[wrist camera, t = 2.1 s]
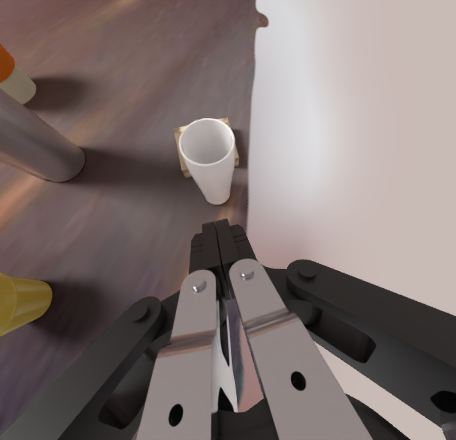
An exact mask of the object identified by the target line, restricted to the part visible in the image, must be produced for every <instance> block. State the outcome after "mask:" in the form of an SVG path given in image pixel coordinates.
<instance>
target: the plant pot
mask: <svg viewBox="0 0 456 440" xmlns="http://www.w3.org/2000/svg"><path fill="white" fill-rule="evenodd" d="M51 300H52V290H51V288H50V286H49V285H48V284H47V283H45V282H43V281H39V280H29V279H21V278H13V277H8V276H7V275H5V274H2V273H0V336H2V335H4V334H6V333H8V332H10V331H12V330H15V329H17V328H19V327H21V326H23V325H25V324H27V323H29V322H31V321H33V320H35V319H37V318H39V317H40V316H42V315H43V314H44V313H45V312H46V310H47V309H48V308H49V306H50V303H51Z"/></svg>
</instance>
